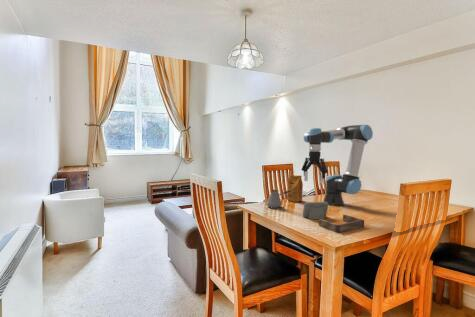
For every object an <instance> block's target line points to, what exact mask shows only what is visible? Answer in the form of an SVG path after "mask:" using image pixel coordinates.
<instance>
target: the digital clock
mask: <svg viewBox="0 0 475 317" xmlns="http://www.w3.org/2000/svg"><path fill="white" fill-rule="evenodd" d="M328 208H329V205H328V202H324V201H306V202H304V203H303V210H302V217H304V218H309V219H310V220H319V219H323V220H325V217H326V216H327V214H328Z"/></svg>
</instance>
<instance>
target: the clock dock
mask: <svg viewBox="0 0 475 317" xmlns="http://www.w3.org/2000/svg"><path fill="white" fill-rule="evenodd" d="M342 222H343V223H339V224H337V223H334V222H331V221H328V220H325V219H318V227H321V228H323V229H326V230H328V231H331V232H333V233H336V234H339V233H343V232H349V231H353V230H357V229H362V228H364V227H365V220H364V219H362V218H359V217H356V216H355V217H354V216H351V215H348V214H342Z"/></svg>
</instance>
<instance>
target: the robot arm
mask: <svg viewBox="0 0 475 317" xmlns="http://www.w3.org/2000/svg"><path fill="white" fill-rule="evenodd" d="M373 135H374V134H373V129H372V127H371V125H369V124H358V125H357V124H354V125H348V126H343V127H338V128H336V129H331V130H330V129H329V130H322V128H320V127H319V128H318V127H317V128H316V127H312V128H310V129H309V132H306V133H304V134H303V141H304V142H305V143H309V144H308V145H309V146H308V148H309V150H308V151H309V152H308V157H305V160H304V162H303V164H302V167H301V171H303V177H304V178H303V180H304V182H308V179H309V178H308V177H309V171H308V170H309V169H310V168H311V166H313V165H314V166H317V169H319V171H320V172H321V173H320V184H324V183H325V189H326V190H325V195H324V199H323V202H328V206H337V207H338V206H344V204H345V203H344V199H343V195H342V194H343V193H345V194H347V195H356V194H358V193H359V192H360V191H361V188H362V181H361V180H360V176H359V171H360V167H361V162H362V158H363V153H364V150H365V146H366V145H367V144H368V141H370V140H372V138H373ZM334 140H339V141H341V140H343V141H344V140H345V141H350V142H351V149H350V152H349V157H348V161H347V166H346V169H345V173H343V174H331V175H327V176H326V174H328V173H329V171H328V168H327V165H326V163H325V158H321V153H322V152H321V150H322V148H321V147H322V144H325V143H326V144H327V143H328V144H329V143H333V141H334ZM325 178H326V180H325Z"/></svg>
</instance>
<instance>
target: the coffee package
mask: <svg viewBox="0 0 475 317" xmlns="http://www.w3.org/2000/svg"><path fill="white" fill-rule="evenodd" d="M303 183H304V182H303V179H302V175H293V174H289V177H288V183H287V190H286V191H290V190H292V191H293V193H292V191H290V192H288V193H286V195H287V196H286V198H287V199H286V200H288V201H287V202H292V203H299V202H302V201H303V192H304V191H303V188H304V186H303Z"/></svg>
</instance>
